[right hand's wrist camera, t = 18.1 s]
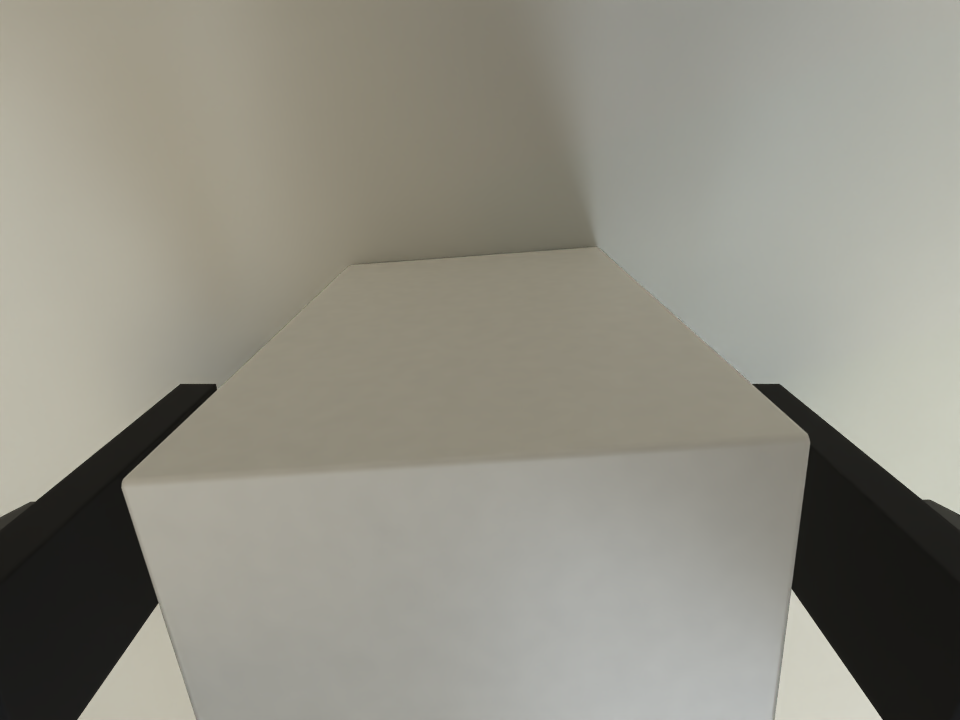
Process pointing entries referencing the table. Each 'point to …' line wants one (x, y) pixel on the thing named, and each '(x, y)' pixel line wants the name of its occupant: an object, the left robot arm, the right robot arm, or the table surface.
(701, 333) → the table surface
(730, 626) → the box
